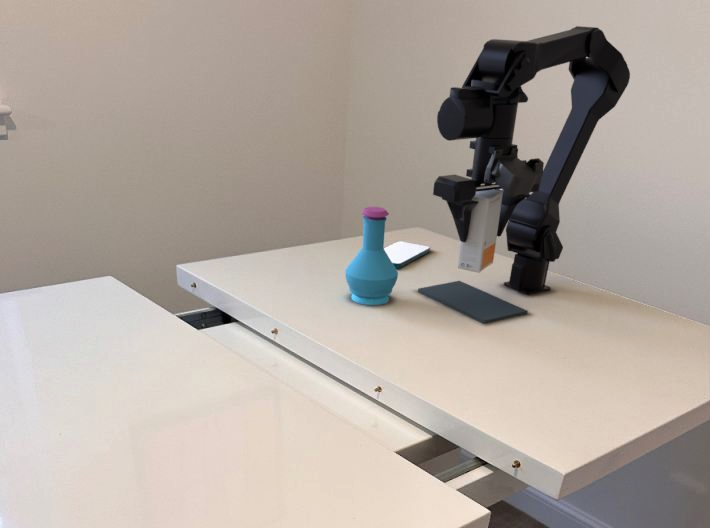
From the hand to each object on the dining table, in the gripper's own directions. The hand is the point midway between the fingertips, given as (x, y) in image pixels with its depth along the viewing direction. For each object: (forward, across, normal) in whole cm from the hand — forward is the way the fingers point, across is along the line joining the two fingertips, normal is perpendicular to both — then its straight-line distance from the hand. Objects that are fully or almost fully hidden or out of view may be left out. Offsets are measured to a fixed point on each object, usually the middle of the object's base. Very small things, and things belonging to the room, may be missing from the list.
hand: (480, 238), depth 121 cm
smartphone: (+11, +5, +28) cm, 31 cm away
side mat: (+11, 0, 0) cm, 11 cm away
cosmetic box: (+5, 0, 0) cm, 5 cm away
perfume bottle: (+11, -15, +10) cm, 21 cm away
